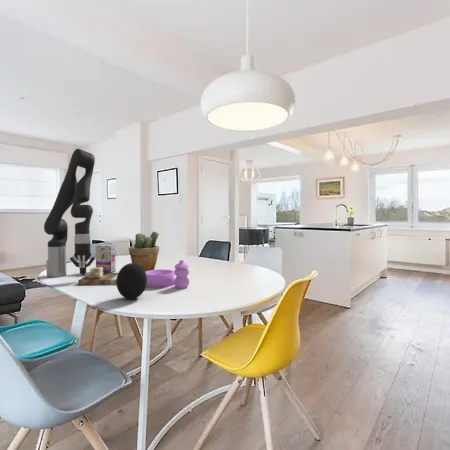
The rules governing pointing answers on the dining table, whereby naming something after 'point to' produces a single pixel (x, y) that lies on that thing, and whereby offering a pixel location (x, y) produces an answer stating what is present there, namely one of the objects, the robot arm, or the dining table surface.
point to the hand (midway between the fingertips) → (83, 274)
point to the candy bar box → (106, 257)
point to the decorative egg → (131, 281)
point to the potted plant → (145, 251)
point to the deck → (99, 279)
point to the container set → (169, 277)
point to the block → (96, 272)
